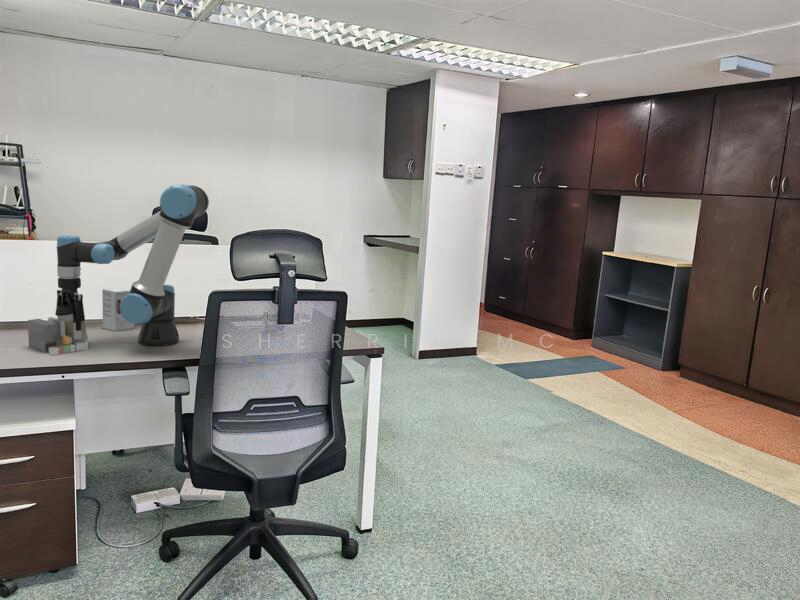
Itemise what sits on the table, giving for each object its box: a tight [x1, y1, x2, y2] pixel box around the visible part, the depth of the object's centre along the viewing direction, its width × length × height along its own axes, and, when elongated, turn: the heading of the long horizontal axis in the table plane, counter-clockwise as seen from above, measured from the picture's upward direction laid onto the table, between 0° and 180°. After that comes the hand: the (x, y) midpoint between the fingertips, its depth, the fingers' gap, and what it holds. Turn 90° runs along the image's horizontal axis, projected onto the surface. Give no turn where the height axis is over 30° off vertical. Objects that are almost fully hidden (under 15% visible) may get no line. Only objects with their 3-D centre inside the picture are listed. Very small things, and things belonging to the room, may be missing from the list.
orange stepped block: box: [62, 336, 70, 345], centre depth 219 cm, size 3×1×3 cm, turn 56°
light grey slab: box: [47, 316, 72, 345], centre depth 224 cm, size 14×2×10 cm, turn 56°
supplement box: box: [101, 287, 136, 332], centre depth 259 cm, size 10×9×17 cm
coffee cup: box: [54, 304, 89, 344], centre depth 229 cm, size 9×9×15 cm
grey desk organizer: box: [27, 318, 89, 356], centre depth 223 cm, size 17×13×10 cm
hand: (70, 336), depth 230 cm, fingers closed on coffee cup, 9 cm apart
